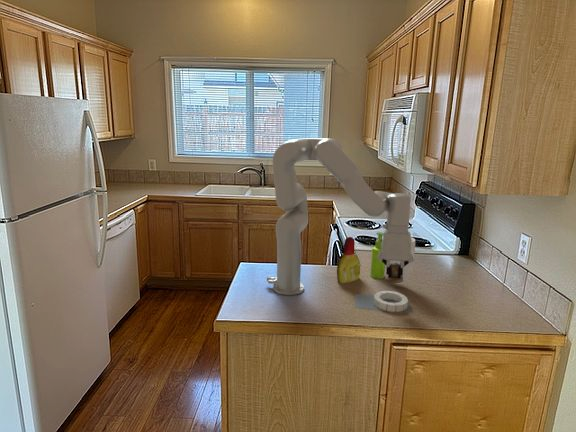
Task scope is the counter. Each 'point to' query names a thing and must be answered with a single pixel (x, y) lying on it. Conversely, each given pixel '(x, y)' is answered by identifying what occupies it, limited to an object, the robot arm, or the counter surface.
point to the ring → (388, 306)
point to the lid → (394, 274)
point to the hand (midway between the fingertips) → (394, 276)
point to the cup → (408, 267)
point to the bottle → (348, 263)
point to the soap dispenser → (376, 264)
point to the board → (368, 303)
